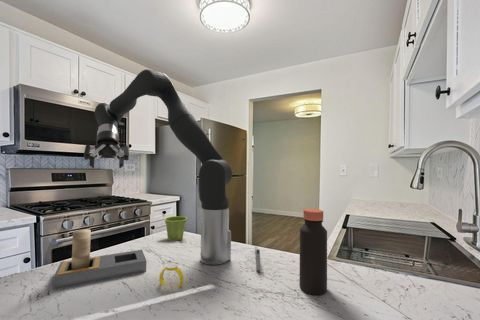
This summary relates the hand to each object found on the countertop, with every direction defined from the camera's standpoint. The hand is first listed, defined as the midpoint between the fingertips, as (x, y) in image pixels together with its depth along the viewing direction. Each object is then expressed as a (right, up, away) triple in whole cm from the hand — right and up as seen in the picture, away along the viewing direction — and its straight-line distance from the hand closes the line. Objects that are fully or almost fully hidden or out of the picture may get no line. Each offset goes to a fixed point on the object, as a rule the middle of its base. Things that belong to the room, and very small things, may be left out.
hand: (107, 166), depth 83 cm
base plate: (+9, -30, -17) cm, 36 cm away
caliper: (+53, -32, -3) cm, 62 cm away
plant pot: (+20, -32, +17) cm, 41 cm away
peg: (+4, -29, -20) cm, 35 cm away
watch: (+30, -31, -24) cm, 49 cm away
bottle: (+66, -31, -23) cm, 76 cm away
